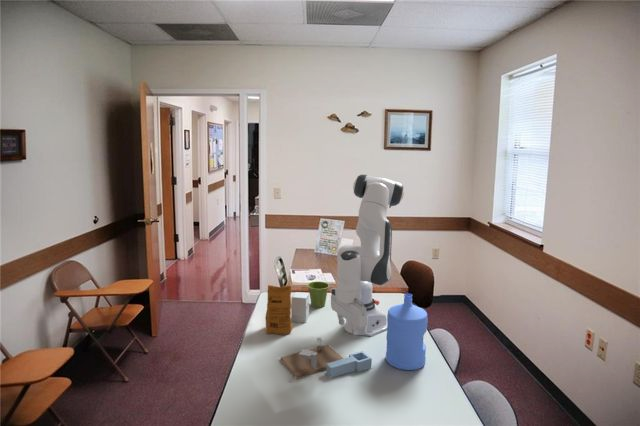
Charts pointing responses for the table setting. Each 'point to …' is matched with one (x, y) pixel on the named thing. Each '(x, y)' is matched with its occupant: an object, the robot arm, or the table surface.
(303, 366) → the base board
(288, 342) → the table surface
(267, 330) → the coffee package
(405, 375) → the table surface
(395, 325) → the water jug
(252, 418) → the table surface
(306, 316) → the supplement box
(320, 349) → the pintle keeper
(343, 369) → the link
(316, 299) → the plant pot
